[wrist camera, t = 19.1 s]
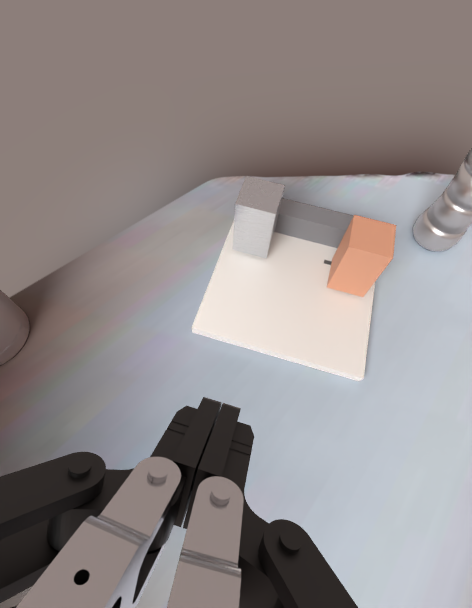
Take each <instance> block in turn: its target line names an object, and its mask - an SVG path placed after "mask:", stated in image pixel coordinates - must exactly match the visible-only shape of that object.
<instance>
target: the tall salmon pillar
mask: <svg viewBox="0 0 472 608" xmlns="http://www.w3.org/2000/svg"><path fill="white" fill-rule="evenodd" d="M395 231H396V225H393V224H389V223H385V222H381V221H377V220H373V219H369V218H365V217H361V216H357V215H354V216H353V218H352V220H351V222H350V224H349V226H348V228H347V230H346V232H345V234H344V236H343V238H342V240H341V242H340V244H339V246H338V248H337V250H336V252H335V254H334V256H333V258H332V263H331V268H330V273H329V278H328V283H327V288H331V289H334V290H338V291H342V292H346V293H349V294H353V295H357V296H360V297H364V295H365V294H366V293H367V291H368V290H369V289H370V288H371V286H372V285H373V284H374V282H375V281H376V280H377V278H378V277H379V276H380V274H381V273H382V272H383V271H384V269H385V268H386V267H387V265H388V264H389V263H390V261H391V260H392V259H393V253H394V242H395Z"/></svg>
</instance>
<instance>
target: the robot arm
mask: <svg viewBox="0 0 472 608" xmlns="http://www.w3.org/2000/svg"><path fill="white" fill-rule="evenodd" d="M28 333H29V320H28V317H27V315H26V314H25V312H24V311H23V310H22V309H21V308H20V307H19V306H17V305H16V304H15V303H14V302H13V301H12V300H11V299H10V298H9V297H8V296H7V295H5V294H4V293H3V292H2V291H1V290H0V365H1V364H4V363H5V362H7V361H8V360H10V359H11V358H12V357H14V356H15V355H16V354H17V353H18V352H19V351H20V349H21V348H22V347H23V345H24V343H25V341H26V340H27V337H28ZM220 408H221V409H220ZM240 409H241V408H238V407H234V406H231V405H228V404H225V403H223V404H222V407H221V402H218V401H215V400H212V399H208V398H205V397H203V399H202V401H201V403H200V405H199V407H198V409H195V408H192V407H189V406H185V407H184V408H182V409H181V410H179V411H177V413H176V414H175V416H174V418H173V419H172V421H171V423H170V424H169V426H168V428H167V430H166V431H165V433H164V435H163V436H162V438H161V440H160V441H159V443H158V445H157V446H156V448H155V450H154V452H153V453H152V455H151V457H150V458H147V459H144V460H142V461H141V462H140V463H139V464H138V465H137V466H136V467H135V468H134V469H130V470H108V469H106V466H105V463H104V461H103V459H102V458H101V457H99V456H98V455H96V454H93V453H90V452H77V453H72V454H69V455H66V456H63V457H60V458H57V459H54V460H51V461H48V462H44V463H41V464H38V465H35V466H32V467H29V468H26V469H23V470H20V471H17V472H14V473H11V474H8V475H4V476H1V477H0V603H1V602H3V601H5V600H7V599H9V598H11V597H12V596H14V595H16V594H18V593H20V592H22V591H24V590H25V589H27V588H29V587H31V586H33V587H32V588H31V589H30V590H29V592H28V593H27V594H26V596H25V597H24V598H23V599H22V601H21V602H20V603H19V605H18V606H15V607H12V608H136V606H137V604H138V602H139V600H140V598H141V596H142V594H143V592H144V590H145V587H146V585H147V583H148V581H149V579H150V577H151V575H152V573H153V571H154V569H155V567H156V565H157V562H158V560H159V558H160V556H161V554H162V552H163V550H164V547H165V543H166V541H167V540H168V538H169V535H170V533H171V530H172V528H173V525H176V526H179V527H181V525H182V522H183V520H184V517H185V514H186V517H185V521H184V525H183V528H185V529H187V531H186V535H185V539H184V543H183V547H182V550H181V554H180V558H179V562H178V566H177V570H176V574H175V578H174V582H173V586H172V589H171V593H170V597H169V601H168V605H167V608H358V607H357V605H356V604H355V602H354V601H353V600H352V598H351V597H350V595H349V594H348V592H347V591H346V589H345V588H344V586H343V585H342V583H341V582H340V581H339V579H338V578H337V576H336V575H335V573H334V572H333V570H332V569H331V567H330V566H329V564H328V563H327V562H326V560H325V559H324V557H323V556H322V554H321V553H320V551H319V550H318V548H317V547H316V545H315V544H314V543H313V541H312V540H311V538H310V537H309V535H308V534H307V533H306V532H305V531H304V530H303V529H302V528H301V527H300V526H299V525H297V524H295V523H293V522H291V521H288V520H283V519H281V520H275V521H272V522H271V523H267V522H266V521H264V520H263V519H261V518H260V517H259V516H257V515H256V514H255V513H254V512H253V511H252V510H251V509H250V507H249V506H248V504H247V502H246V500H245V496H244V487H245V482H246V477H247V471H248V466H249V461H250V455H251V450H252V445H253V439H254V435H253V432H252V429H251V426H249V425H246V424H243V423H240V422H237V420H238V416H239V413H240ZM187 509H188V510H187ZM186 511H187V513H186Z"/></svg>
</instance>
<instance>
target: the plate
mask: <svg viewBox="0 0 472 608" xmlns="http://www.w3.org/2000/svg"><path fill="white" fill-rule="evenodd" d="M352 218H353V215H349V214H344V213H340V212H336V211H332V210H328V209H324V208H320V207H316V206H312V205H308V204H304V203H300V202H296V201H292V200H288V199H284V198H282V201H281V205H280V210H279V214H278V219H277V223H276V228H275V232H274V236H273V239H272V242H271V245H270V249H269V252H268V255H267V258H262V257H258V256H255V255H251V254H247V253H243V252H240V251H236V250H233V233H234V221H233V224H232V226H231V229H230V231H229V234H228V236H227V239H226V241H225V244H224V246H223V249H222V252H221V254H220V257H219V259H218V262H217V264H216V267H215V269H214V272H213V275H212V277H211V280H210V282H209V285H208V287H207V290H206V292H205V295H204V298H203V300H202V303H201V305H200V308H199V310H198V313H197V315H196V318H195V320H194V323H193V326H192V333H196V334H199V335H202V336H206V337H209V338H213V339H216V340H219V341H223V342H226V343H230V344H233V345H236V346H240V347H243V348H247V349H250V350H254V351H257V352H260V353H264V354H267V355H271V356H274V357H277V358H281V359H284V360H288V361H291V362H294V363H298V364H301V365H305V366H308V367H311V368H315V369H318V370H322V371H325V372H328V373H332V374H335V375H339V376H342V377H345V378H349V379H352V380H356V381H361V380H362V379H363V378H364V371H365V363H366V354H367V346H368V338H369V329H370V321H371V312H372V304H373V296H374V287H375V282H374V284H373V285H372V286H371V288H370V289H369V290H368V291H367V293H366V294H365V295H364V297H360V296H357V295H353V294H349V293H346V292H342V291H338V290H334V289H331V288H327V283H328V278H329V273H330V268H331V263H332V258H333V256H334V254H335V252H336V250H337V248H338V246H339V244H340V242H341V240H342V238H343V236H344V234H345V232H346V230H347V228H348V226H349V224H350V222H351V220H352Z"/></svg>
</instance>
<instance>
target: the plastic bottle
mask: <svg viewBox="0 0 472 608" xmlns="http://www.w3.org/2000/svg"><path fill="white" fill-rule="evenodd" d="M471 223H472V149H471V150H470V151H469V153H468V154H467V155H466V157H465V159H464V161H463V163H462V165H461V166H460V168H459V170H458V171H457V173H456V175H455V177H454V178H453V180H452V181H451V182H450V184H449V185H448V187H447V188H446V190H445V191H444V192H443V194H442V195H441V196H440V197H439V198H438V199H437V200H436V201H435V202H434V203H433V204H432V206H431V207H429V208H428V209H427V210H425V211H424V212H423V213H422V214H421V215H420V216H419V217H418V219H417V221H416V223H415V225H414V227H413V233H414V237H415V240H416V241H417V242H418V244H420V245H421V246H422V247H424V248H425V249H427V250H430V251H445V250H448V249H450V248H451V247H453V246H454V245H456V244H457V243H458V242H459V241H460V239H461V238H462V237H463V235H464V234H465V232H466V230H467V228H468V227H469V226H470V225H471Z"/></svg>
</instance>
